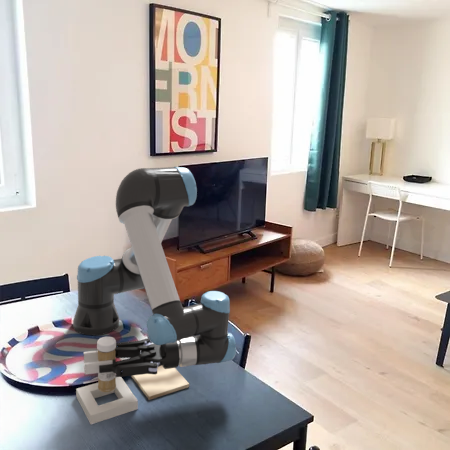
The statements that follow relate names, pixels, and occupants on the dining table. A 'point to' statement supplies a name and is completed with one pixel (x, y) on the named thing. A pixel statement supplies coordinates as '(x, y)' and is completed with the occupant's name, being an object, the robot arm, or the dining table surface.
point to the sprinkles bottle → (105, 353)
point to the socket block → (109, 409)
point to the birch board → (160, 382)
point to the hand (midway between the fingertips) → (84, 363)
